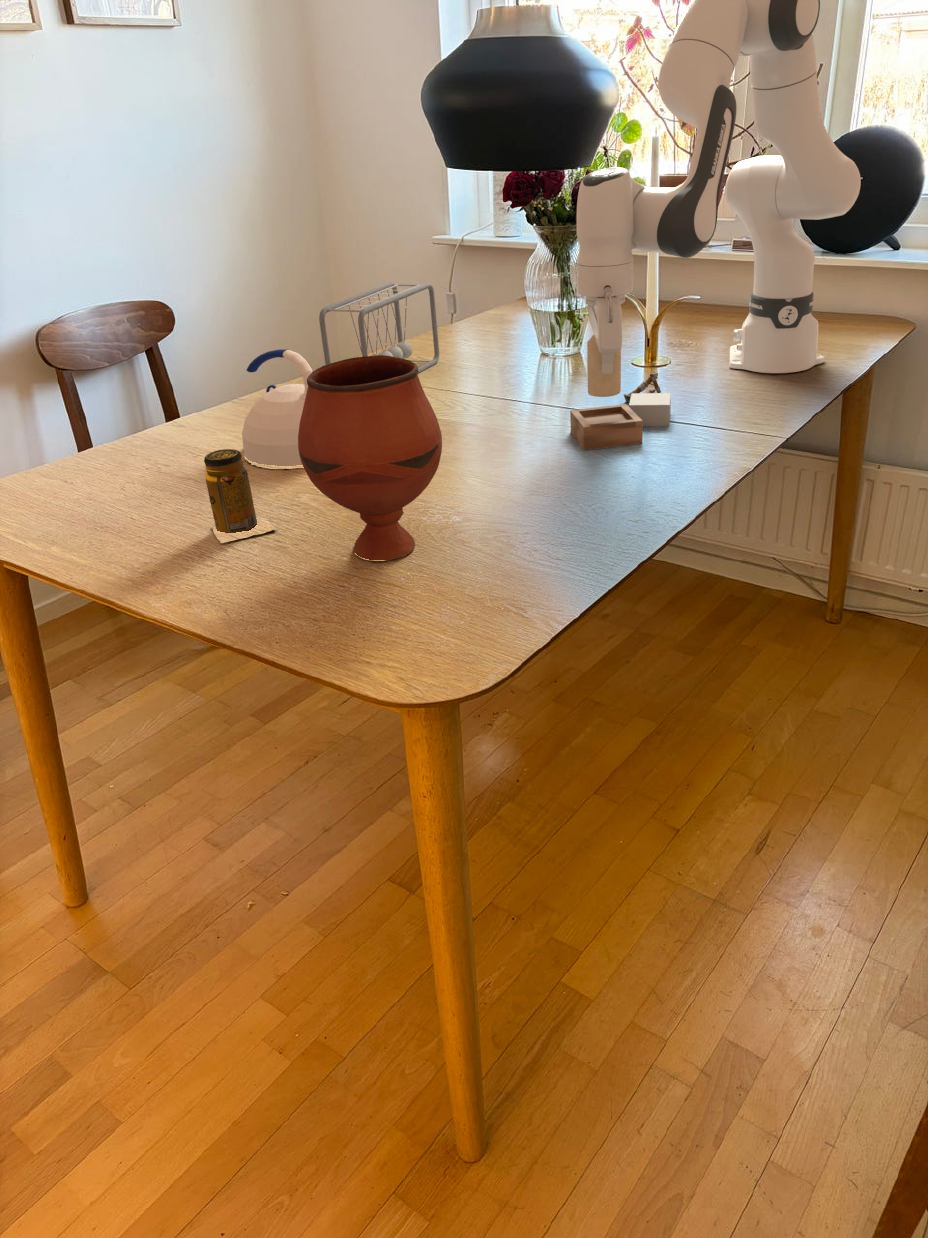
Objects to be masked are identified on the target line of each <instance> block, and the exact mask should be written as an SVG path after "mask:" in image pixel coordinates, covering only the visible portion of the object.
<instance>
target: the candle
mask: <svg viewBox="0 0 928 1238" xmlns="http://www.w3.org/2000/svg"><path fill="white" fill-rule="evenodd" d="M586 343H587V345H586V346H587V347H586V348H587V349H586V350H587V351H586V353H587V354H586V355H587V357H586V358H587V364H586V365H587V366H586V367H587V394H588V395H589V396H591V397H597V398H607V397H613V396H614V397H615V396H617V395H619V394H620V393H621V386H622V385H621V382H622V380H621V379H622V372H621V371H622V368H621V367H622V350H621V351H620V352H615V354H614V360H613V372H612V373H611V374H603V373H602V370H601V353H600V352H599V350H598V347H597V344H596V341H595V337H594V334H593V335H592V336H591V337H590V338H589V339H588V340H587V342H586Z"/></svg>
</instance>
